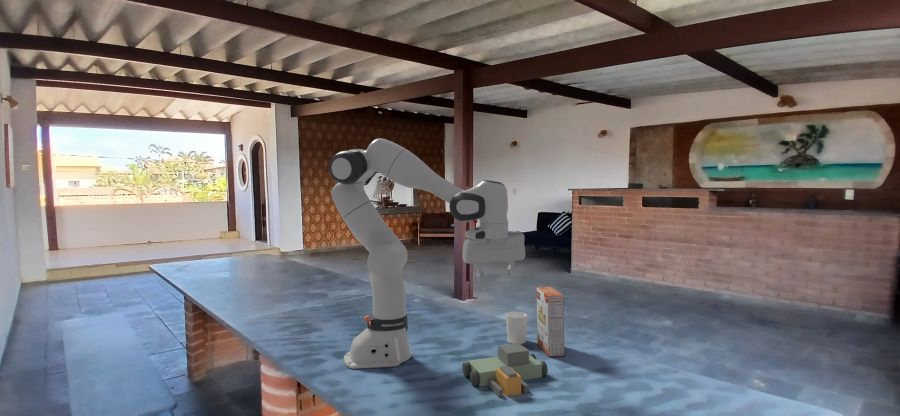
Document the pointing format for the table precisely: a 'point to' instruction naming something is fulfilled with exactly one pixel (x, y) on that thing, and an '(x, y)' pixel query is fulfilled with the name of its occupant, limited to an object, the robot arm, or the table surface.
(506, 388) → the orange block grey plate
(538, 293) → the cracker box
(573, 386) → the table surface
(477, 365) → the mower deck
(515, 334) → the white cup
